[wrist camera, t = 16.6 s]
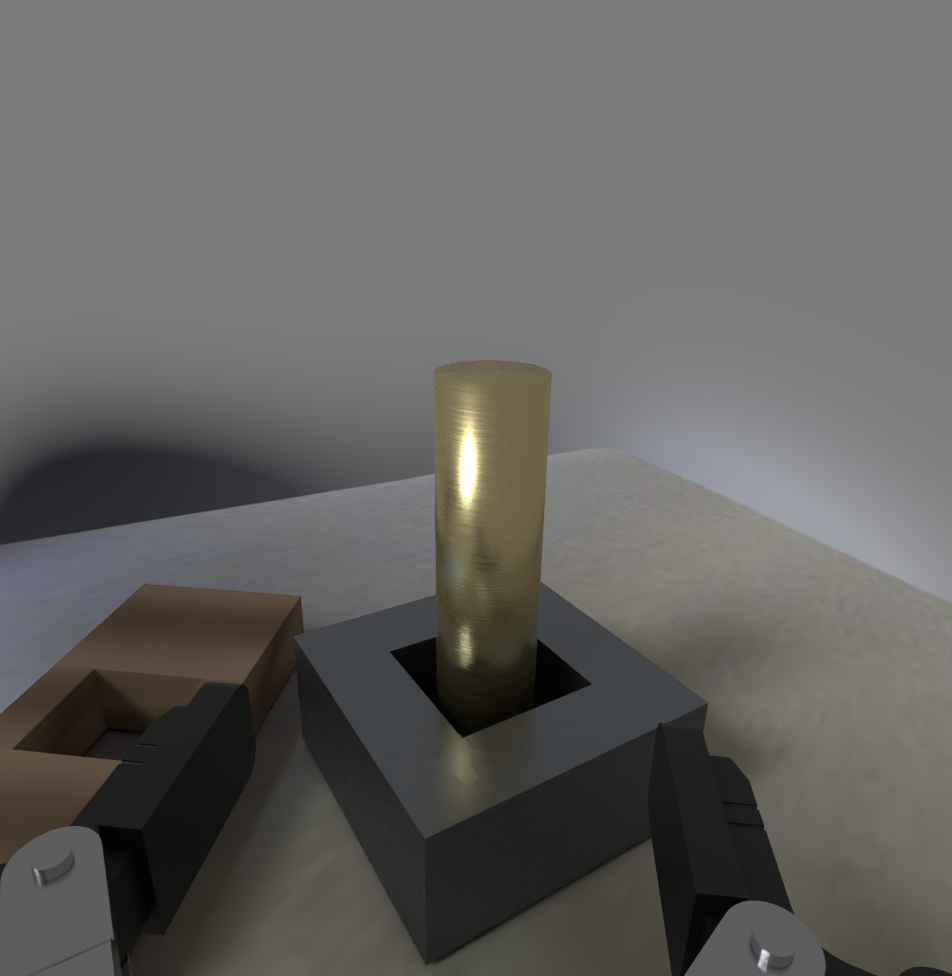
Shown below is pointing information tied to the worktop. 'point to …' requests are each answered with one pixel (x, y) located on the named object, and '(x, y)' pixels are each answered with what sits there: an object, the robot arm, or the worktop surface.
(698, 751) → the robot arm
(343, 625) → the seat block
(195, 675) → the beam
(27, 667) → the worktop surface
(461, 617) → the axle
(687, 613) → the worktop surface
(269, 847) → the worktop surface
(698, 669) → the worktop surface
